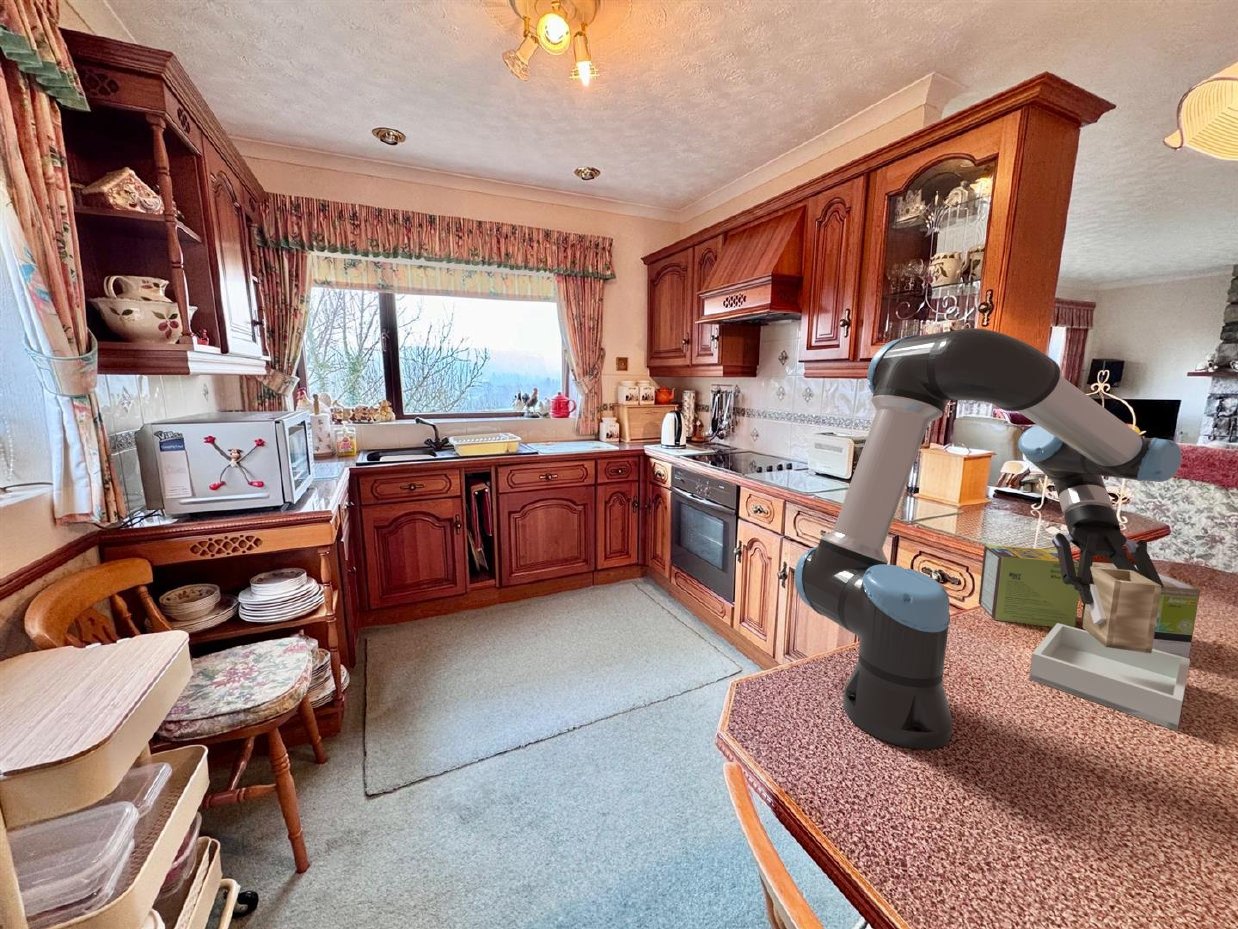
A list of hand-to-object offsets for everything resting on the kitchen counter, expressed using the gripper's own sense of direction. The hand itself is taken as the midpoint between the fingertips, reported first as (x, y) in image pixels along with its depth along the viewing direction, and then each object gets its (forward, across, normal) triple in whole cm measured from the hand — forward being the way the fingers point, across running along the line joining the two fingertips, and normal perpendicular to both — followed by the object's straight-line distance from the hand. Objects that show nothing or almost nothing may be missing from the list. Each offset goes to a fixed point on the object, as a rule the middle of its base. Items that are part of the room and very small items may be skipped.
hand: (1124, 624), depth 85 cm
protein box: (-13, +4, -30) cm, 33 cm away
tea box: (-9, -13, -26) cm, 31 cm away
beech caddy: (+1, 0, -4) cm, 4 cm away
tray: (+7, 0, -10) cm, 12 cm away
